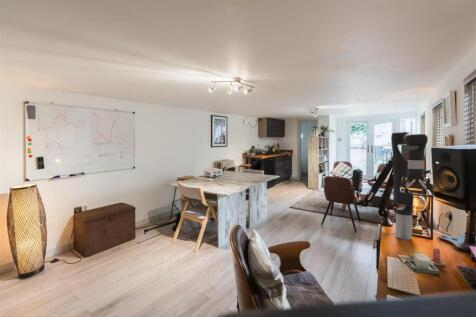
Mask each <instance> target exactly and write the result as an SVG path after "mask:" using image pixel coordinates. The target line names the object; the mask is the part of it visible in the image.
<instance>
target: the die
mask: <svg viewBox="0 0 476 317" xmlns="http://www.w3.org/2000/svg"><path fill="white" fill-rule="evenodd" d="M413 256H414V262H415V264H416V266H417V268H426V269H429V264H430V260H429V259H428V257H429V256H427V255H426V254H424V253H416V252H414V255H413Z"/></svg>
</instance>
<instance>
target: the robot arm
mask: <svg viewBox="0 0 476 317" xmlns="http://www.w3.org/2000/svg"><path fill="white" fill-rule="evenodd" d="M390 138H391V148H392V149H391V150H392V173H393V195H392V196H393V202H394V203H395V204H396V205H403V206H400V207H397V208H396V209H395V237H396V238H398V239H400V240H405V241H410V240H412V237H413V236H412V235H413V234H412V233H413V208H414V194H413V192H412V191H410V190H409V188H410V187H411V186H413V185H417V186H420V187H421V195H423V196H425V195H427V189H430V188H431V178H430V177H427V176H426V177H424V170H425V163H424V153H425V149H426V146H427V144H428V140H429V139H428V138H429V137H428V136H427V135H426V134H425V133H415V134H414V133H410V132H409V131H399V132H398V131H396V132H393V133H392V134H391V137H390ZM399 145H400V146H402V145H403V146H405V145H406V146H407V147H417V148H416V149H411V150H409V151H408V153H407V154H408V157H407V158H408V160H407V158H406V157H405V156H404V155H403V154H402V152H401V151H400V149H399ZM406 181H407V182H406ZM424 182H425V183H424ZM401 187H402V188H404V190H401Z"/></svg>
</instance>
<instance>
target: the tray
mask: <svg viewBox="0 0 476 317" xmlns="http://www.w3.org/2000/svg"><path fill="white" fill-rule="evenodd" d="M406 262H407V263H408V264H409V265H410V266H411V268H412V269H413V270H412V269H411V268H410V269H411V270H412V271H413V272H414V273H421V274H422V273H424V274H434V275H440V270H439V269H438V268H437V267H436V265H432V264H431V263H430V264H429V269H426V268H417V266H416V264H415V262H414V261H413V260H406ZM407 263H406V264H407ZM408 264H407V265H408ZM409 265H408V266H409ZM410 266H409V267H410Z"/></svg>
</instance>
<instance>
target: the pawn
mask: <svg viewBox="0 0 476 317" xmlns="http://www.w3.org/2000/svg"><path fill="white" fill-rule="evenodd" d="M431 258H432V261H434V262H439V263H440V262H441V261H442V260H441V250H440V249H439V247H434V248H433V249H432V257H431Z"/></svg>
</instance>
